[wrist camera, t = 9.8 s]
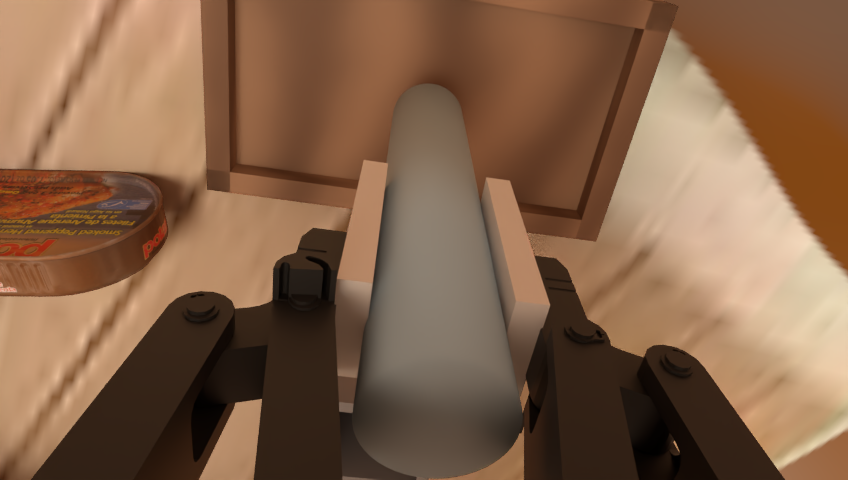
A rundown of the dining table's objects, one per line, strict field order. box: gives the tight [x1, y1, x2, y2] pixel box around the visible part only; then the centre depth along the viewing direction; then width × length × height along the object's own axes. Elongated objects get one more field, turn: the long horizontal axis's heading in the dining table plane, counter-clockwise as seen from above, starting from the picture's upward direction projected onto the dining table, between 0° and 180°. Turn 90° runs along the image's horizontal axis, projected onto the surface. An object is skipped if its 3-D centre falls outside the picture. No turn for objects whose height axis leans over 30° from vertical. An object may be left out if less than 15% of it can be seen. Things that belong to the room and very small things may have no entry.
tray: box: [201, 0, 678, 241], centre depth 29 cm, size 22×13×2 cm, turn 81°
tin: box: [0, 170, 168, 297], centre depth 29 cm, size 15×3×8 cm, turn 88°
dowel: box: [352, 83, 523, 478], centre depth 19 cm, size 3×3×18 cm
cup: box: [338, 376, 429, 480], centre depth 36 cm, size 7×7×8 cm
